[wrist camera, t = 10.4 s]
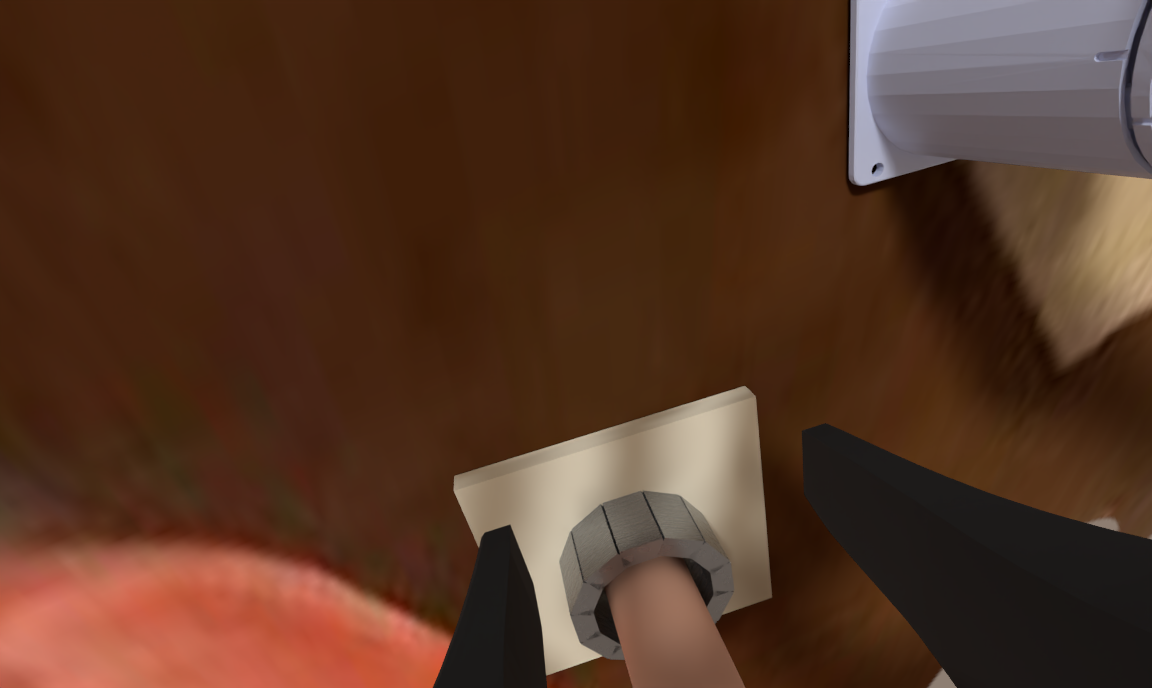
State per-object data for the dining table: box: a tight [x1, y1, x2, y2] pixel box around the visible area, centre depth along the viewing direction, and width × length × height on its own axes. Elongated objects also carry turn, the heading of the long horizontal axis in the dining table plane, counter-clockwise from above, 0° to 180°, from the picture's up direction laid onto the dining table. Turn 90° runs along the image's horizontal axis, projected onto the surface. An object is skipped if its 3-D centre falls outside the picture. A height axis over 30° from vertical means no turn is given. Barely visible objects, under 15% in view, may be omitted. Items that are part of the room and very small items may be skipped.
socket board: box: [454, 386, 772, 675], centre depth 25 cm, size 14×14×4 cm
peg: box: [604, 556, 745, 688], centre depth 22 cm, size 4×4×8 cm
